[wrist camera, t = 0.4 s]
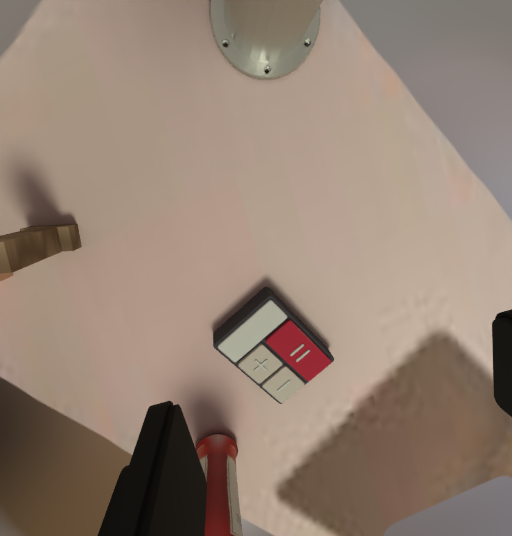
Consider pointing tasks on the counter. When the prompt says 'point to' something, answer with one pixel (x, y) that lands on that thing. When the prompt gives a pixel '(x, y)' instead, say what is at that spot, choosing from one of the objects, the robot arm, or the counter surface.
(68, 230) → the tan stepped block
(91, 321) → the counter surface
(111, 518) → the robot arm
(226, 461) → the liquor
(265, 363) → the calculator
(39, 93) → the counter surface
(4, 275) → the tile
